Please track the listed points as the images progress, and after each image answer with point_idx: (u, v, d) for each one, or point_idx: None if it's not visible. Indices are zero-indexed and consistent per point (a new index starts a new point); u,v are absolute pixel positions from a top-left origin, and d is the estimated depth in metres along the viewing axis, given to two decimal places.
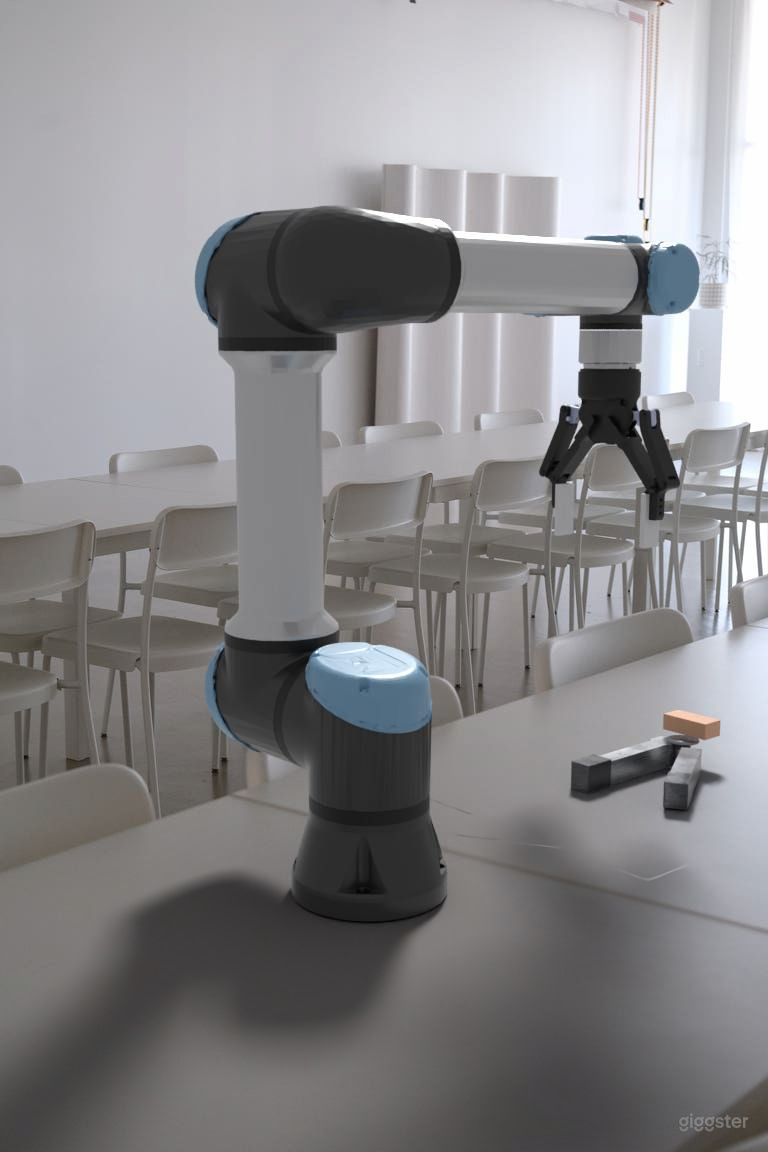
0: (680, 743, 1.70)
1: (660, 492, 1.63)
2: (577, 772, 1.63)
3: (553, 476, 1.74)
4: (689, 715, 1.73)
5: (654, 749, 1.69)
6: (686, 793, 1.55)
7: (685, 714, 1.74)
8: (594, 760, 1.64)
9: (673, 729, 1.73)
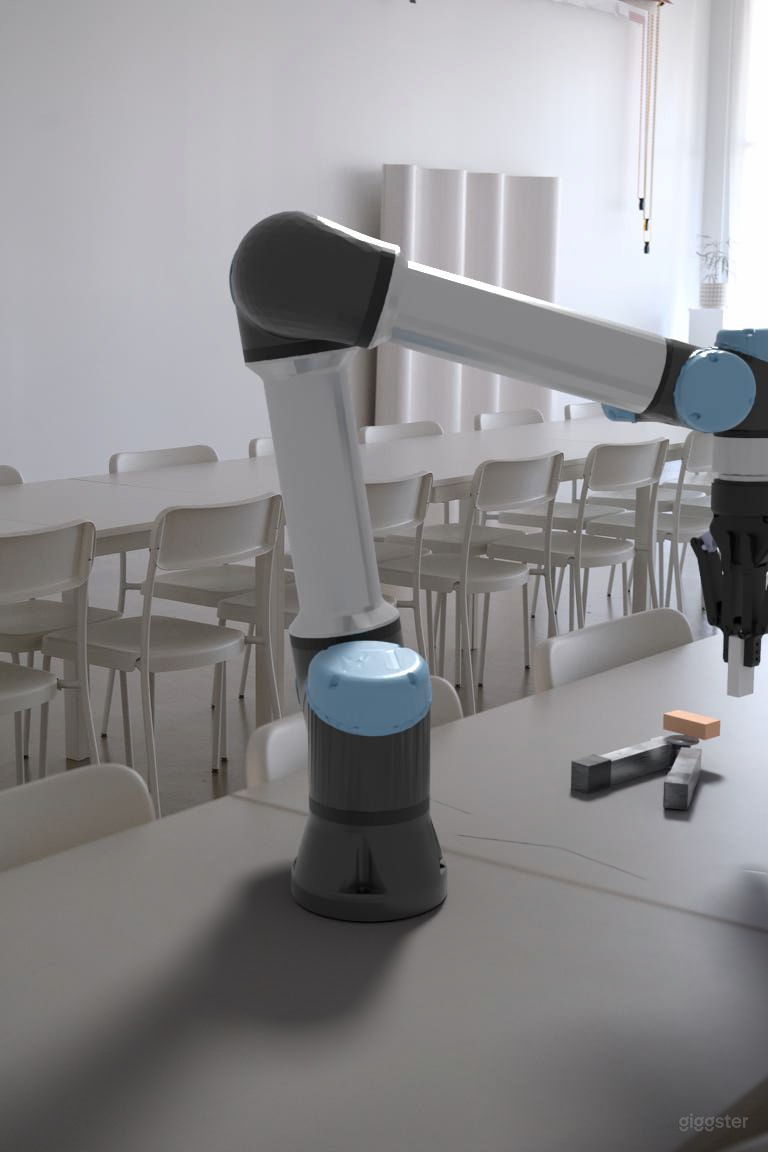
0: (680, 743, 1.70)
1: (757, 637, 1.47)
2: (577, 772, 1.63)
3: (725, 626, 1.49)
4: (689, 715, 1.73)
5: (654, 749, 1.69)
6: (686, 793, 1.55)
7: (685, 714, 1.74)
8: (594, 760, 1.64)
9: (673, 729, 1.73)
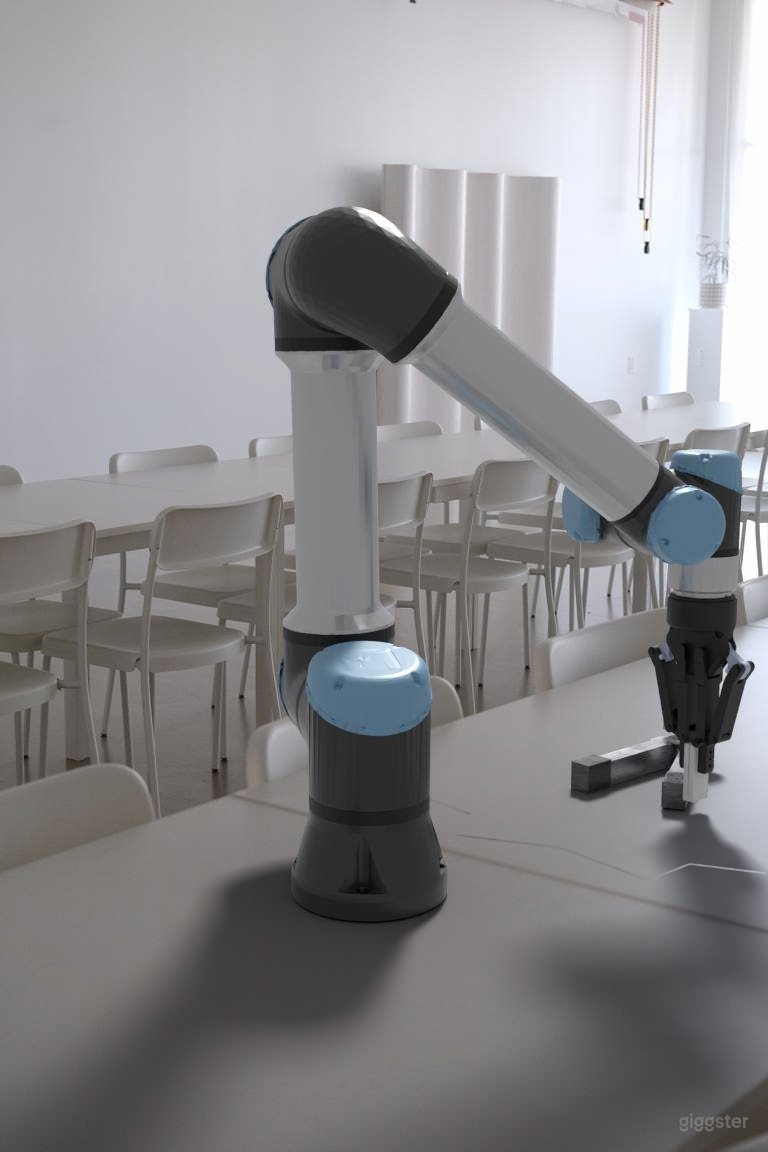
0: None
1: (710, 745, 1.53)
2: (577, 772, 1.63)
3: (680, 733, 1.54)
4: None
5: (654, 749, 1.69)
6: None
7: None
8: (594, 760, 1.64)
9: None
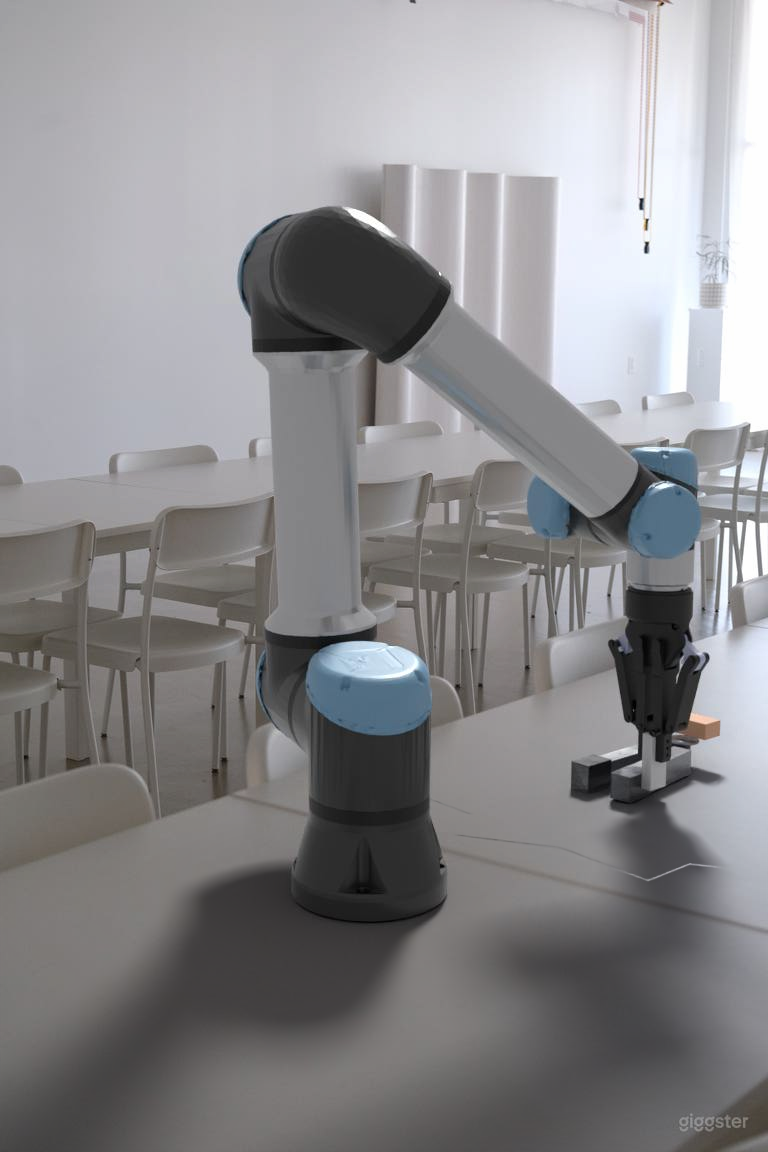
0: (675, 742, 1.70)
1: (667, 734, 1.57)
2: (577, 772, 1.63)
3: (639, 723, 1.59)
4: None
5: None
6: (629, 786, 1.58)
7: None
8: (594, 760, 1.64)
9: None
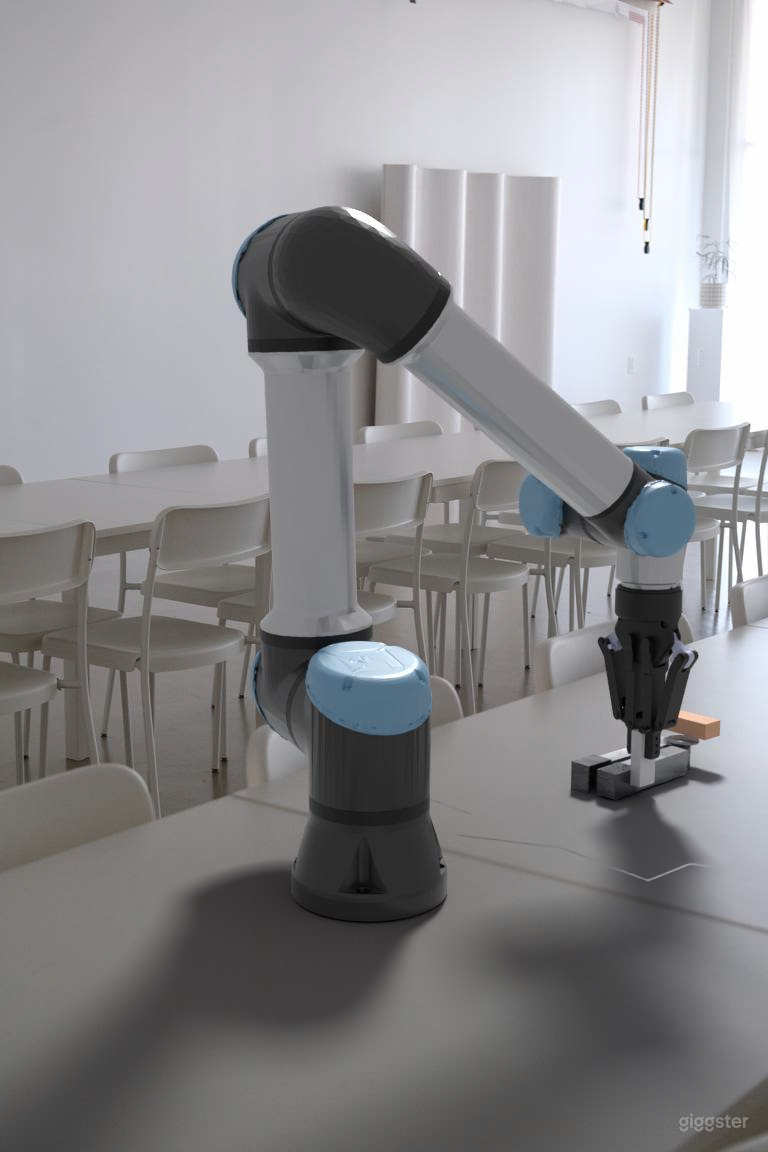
0: (673, 742, 1.70)
1: (656, 731, 1.58)
2: (577, 772, 1.63)
3: (628, 721, 1.60)
4: (689, 715, 1.73)
5: None
6: (614, 783, 1.59)
7: (685, 714, 1.74)
8: (594, 760, 1.64)
9: (673, 729, 1.73)
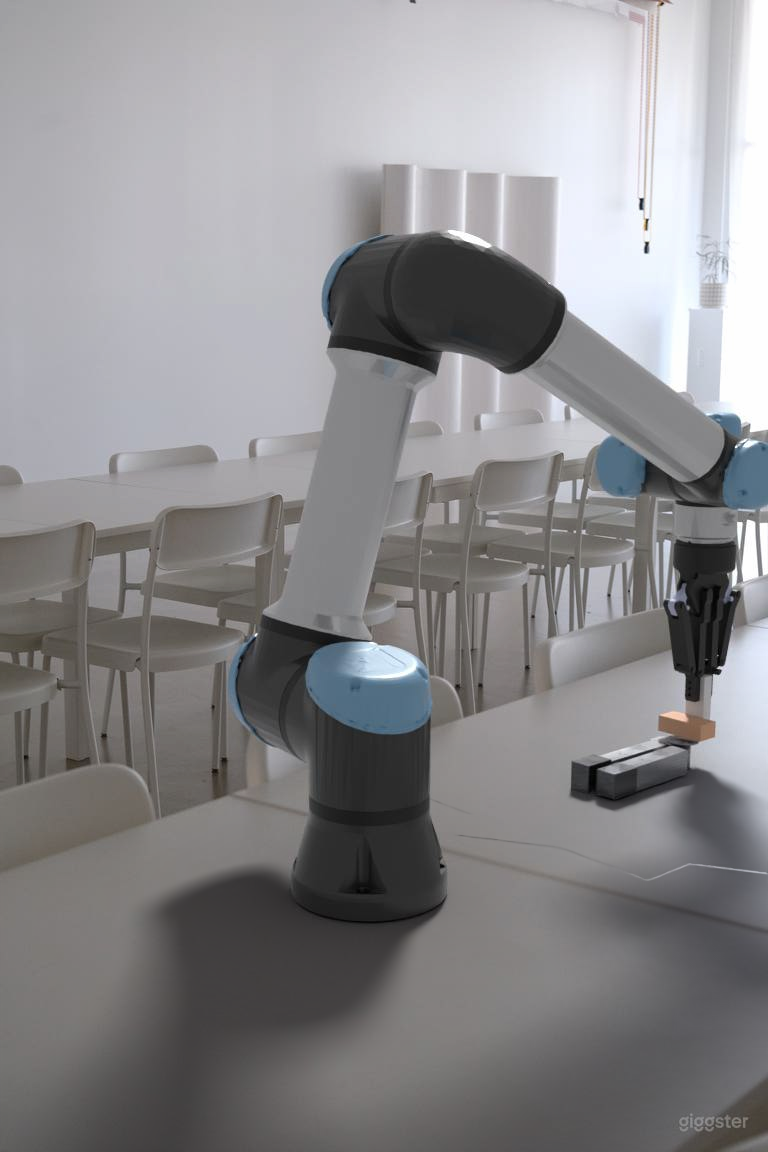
0: (673, 742, 1.70)
1: (686, 674, 1.71)
2: (577, 772, 1.63)
3: None
4: (684, 716, 1.73)
5: (654, 749, 1.69)
6: (614, 783, 1.59)
7: (680, 715, 1.73)
8: (594, 760, 1.64)
9: (668, 730, 1.72)
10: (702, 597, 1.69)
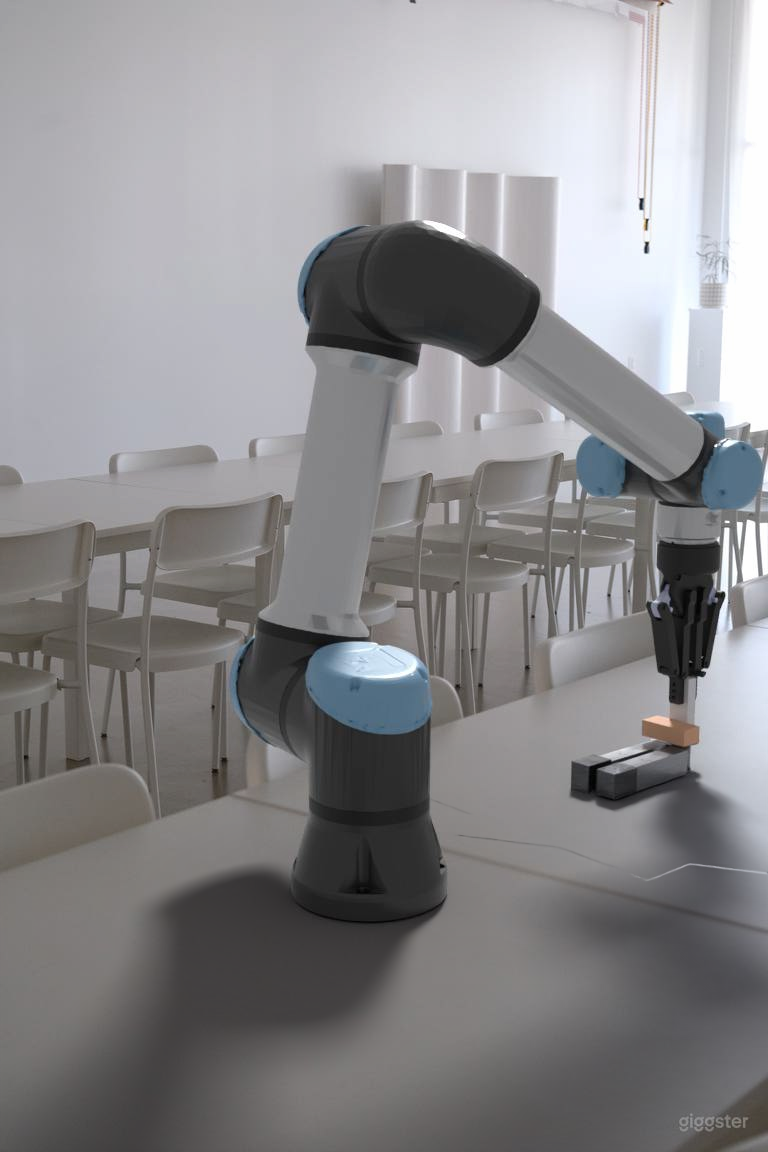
0: None
1: (670, 676, 1.69)
2: (577, 772, 1.63)
3: None
4: (668, 721, 1.71)
5: (654, 749, 1.69)
6: (614, 783, 1.59)
7: (664, 720, 1.71)
8: (594, 760, 1.64)
9: (652, 735, 1.70)
10: (685, 598, 1.67)
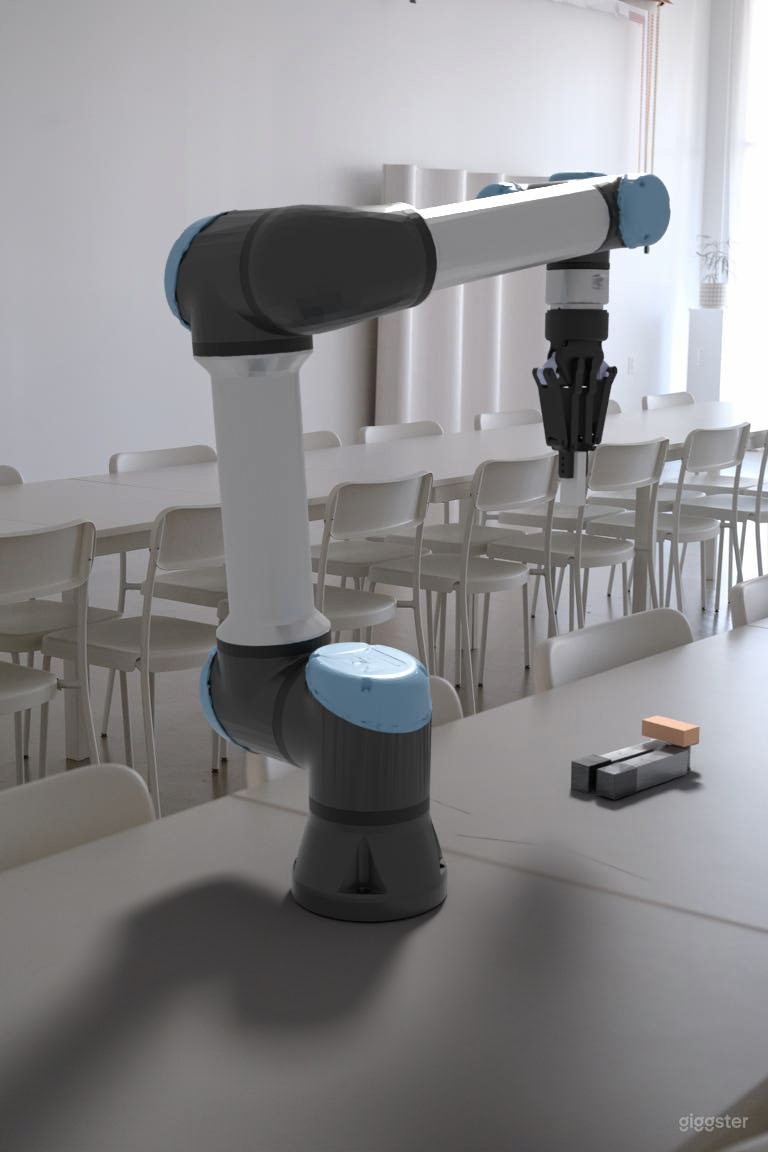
0: None
1: (559, 450, 1.66)
2: (577, 772, 1.63)
3: None
4: (668, 721, 1.71)
5: (654, 749, 1.69)
6: (614, 783, 1.59)
7: (664, 720, 1.71)
8: (594, 760, 1.64)
9: (652, 735, 1.70)
10: (573, 367, 1.64)
